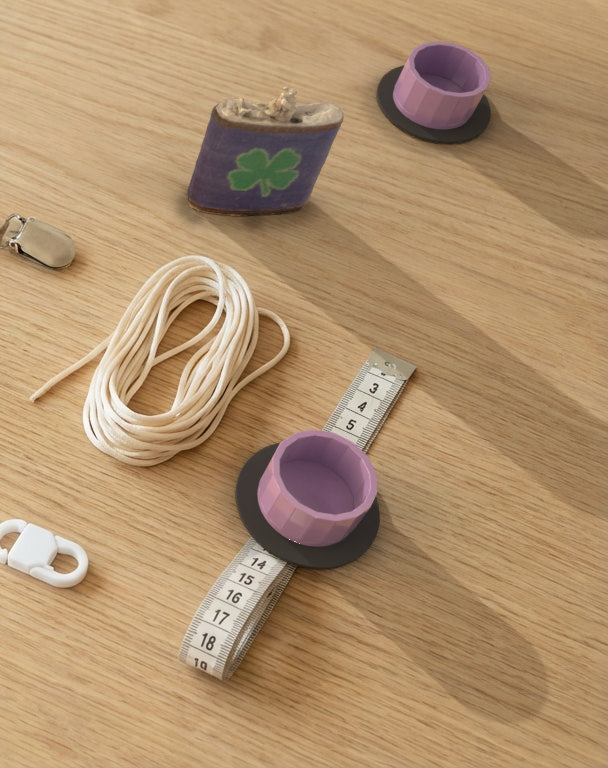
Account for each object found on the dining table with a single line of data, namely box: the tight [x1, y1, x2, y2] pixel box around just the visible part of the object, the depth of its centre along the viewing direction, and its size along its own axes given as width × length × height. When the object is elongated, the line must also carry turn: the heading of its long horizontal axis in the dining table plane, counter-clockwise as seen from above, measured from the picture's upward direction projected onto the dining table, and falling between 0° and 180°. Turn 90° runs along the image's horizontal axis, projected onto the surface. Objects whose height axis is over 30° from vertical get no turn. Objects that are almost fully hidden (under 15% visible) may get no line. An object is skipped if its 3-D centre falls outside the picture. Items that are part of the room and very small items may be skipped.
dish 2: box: [393, 40, 492, 130], centre depth 96 cm, size 6×6×4 cm
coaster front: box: [234, 442, 381, 570], centre depth 77 cm, size 9×9×1 cm
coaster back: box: [375, 64, 492, 145], centre depth 98 cm, size 9×9×1 cm
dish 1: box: [257, 429, 379, 547], centre depth 75 cm, size 6×6×4 cm
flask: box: [185, 86, 345, 217], centre depth 87 cm, size 9×3×11 cm, turn 91°
